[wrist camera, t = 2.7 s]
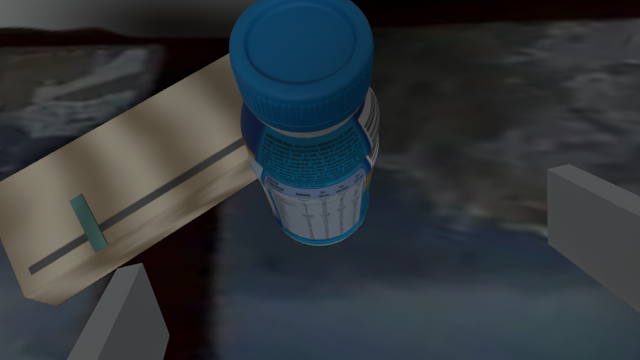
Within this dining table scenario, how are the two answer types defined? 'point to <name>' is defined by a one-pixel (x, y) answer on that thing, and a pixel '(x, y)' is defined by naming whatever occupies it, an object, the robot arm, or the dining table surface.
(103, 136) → the birch board
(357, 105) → the beverage bottle
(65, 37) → the dining table surface
